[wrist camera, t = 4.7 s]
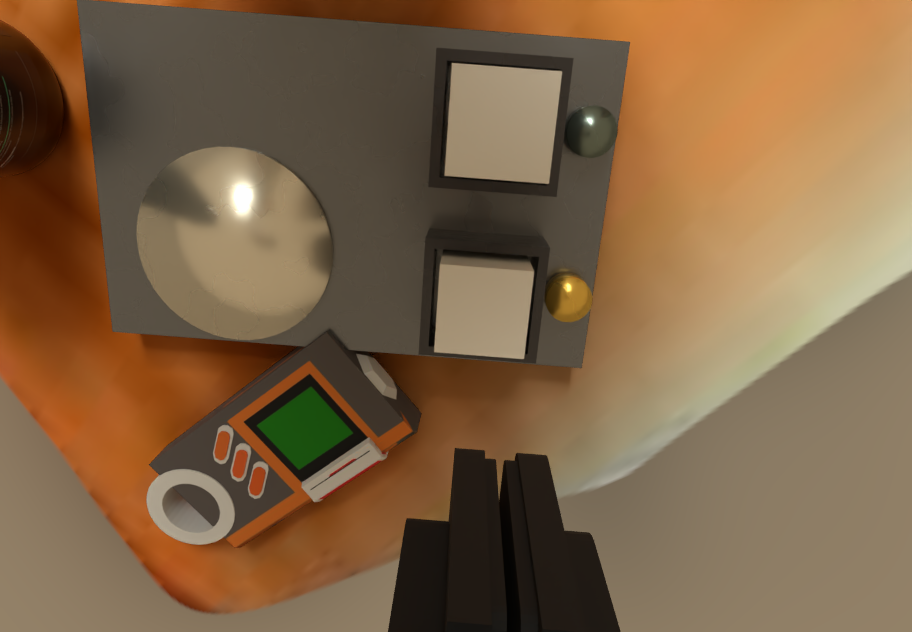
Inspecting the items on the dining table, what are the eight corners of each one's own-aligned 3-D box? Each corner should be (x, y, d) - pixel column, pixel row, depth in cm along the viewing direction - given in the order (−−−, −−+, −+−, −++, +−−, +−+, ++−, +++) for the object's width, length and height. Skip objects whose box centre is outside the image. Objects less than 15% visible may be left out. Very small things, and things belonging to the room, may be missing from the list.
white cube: (443, 246, 26) (439, 264, 23) (526, 252, 26) (534, 271, 23) (438, 324, 27) (433, 352, 24) (517, 330, 27) (523, 359, 24)
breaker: (454, 71, 23) (452, 62, 20) (548, 79, 23) (561, 71, 20) (448, 168, 24) (444, 175, 21) (538, 175, 24) (549, 184, 21)
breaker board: (105, 8, 26) (34, -15, 22) (618, 47, 26) (646, 33, 22) (135, 318, 30) (80, 349, 26) (574, 352, 30) (591, 389, 26)
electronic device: (113, 491, 31) (330, 331, 27) (145, 459, 34) (345, 309, 30) (206, 578, 32) (423, 437, 29) (229, 540, 35) (429, 408, 31)
